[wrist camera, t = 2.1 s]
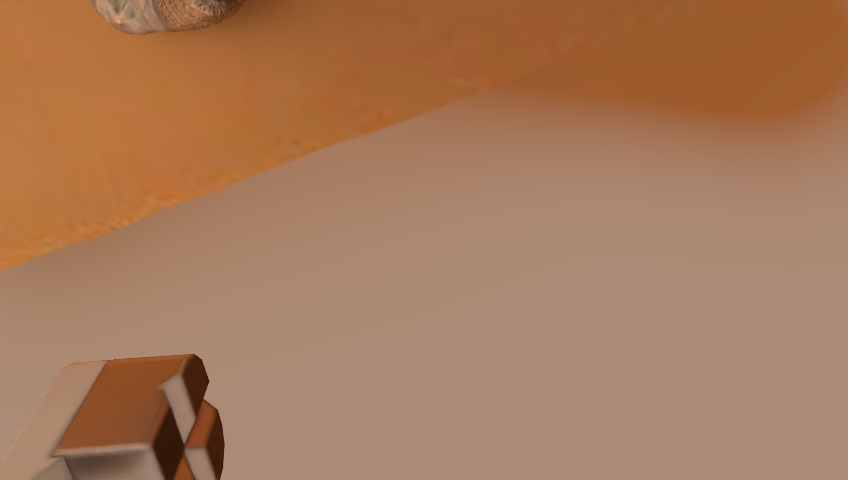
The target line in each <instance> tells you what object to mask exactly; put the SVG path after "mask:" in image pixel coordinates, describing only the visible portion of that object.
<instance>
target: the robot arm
mask: <svg viewBox="0 0 848 480" xmlns="http://www.w3.org/2000/svg"><path fill="white" fill-rule="evenodd" d="M208 383H209V379H208V376H207V373H206V371H205V367H204V365H203V362H202V359H200V358H199V357H198V356H196V355H195V354H186V355H172V356H157V357H142V358H127V359H114V360H112V361H111V360H101V361H90V362H78V363H72V364H70V365H68V366H66V367H63V368H62V369H61V371H60V372H59V374H58V375H57V377H56V378H55V380H54V381H53V383H52V384H51V386H50V388H49V389H48V390H47V392H46V393H45V395H44V396H43V398H42V399H41V401H40V402H39V404H38V405H37V407H36V408H35V410H34V411H33V413H32V414H31V416H30V417H29V419H28V420H27V422H26V423H25V425H24V426H23V428H22V429H21V431H20V432H19V434H18V435H17V437H16V438H15V439H14V441H13V442H12V444H11V445H10V447H9V449H8V450H7V451H6V453H5V454H4V456H3V457H2V459H1V460H0V480H220V477H221V473H222V469H223V458H224V436H223V429H222V423H221V420H220V416H219V413H218V410H217V409H216V408H215V407H213V406H212V405H211V404H210V403H208V402H207V401H206V400H204V399H203V397H204V395H205V391H206V389H207V386H208Z"/></svg>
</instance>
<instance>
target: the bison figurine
mask: <svg viewBox="0 0 848 480" xmlns="http://www.w3.org/2000/svg"><path fill="white" fill-rule="evenodd" d="M91 2H92V4H93V6H94V8H95V9H96V11H97V12H98V13H99V14H100V16H101V17H102V18H103V19H104V20H105V21H106V22H108V23H109V24H111V25H112V26H113V27H114V28H116V29H117V30H120V31H122V32H124V33H127V34H139V35H145V34H149V33H152V32H156V31H160V32H176V31H184V30H198V29H201V28H206V27H208V26H210V25H212V24H216V23H220V22H221V21H223V20H224V19H226V18H227V17H230V16H232V15H233V14H235V13H236V12H237V10H238V9H239V8H240V7H241V6H242V5H243V3H244V2H245V0H91Z"/></svg>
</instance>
